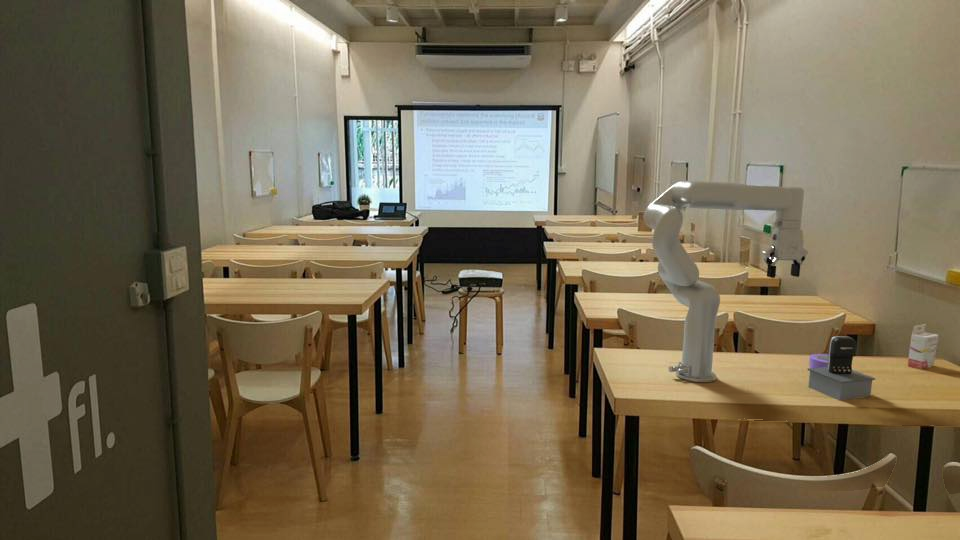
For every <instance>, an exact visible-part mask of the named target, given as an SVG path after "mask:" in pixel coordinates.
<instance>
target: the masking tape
mask: <svg viewBox="0 0 960 540" xmlns="http://www.w3.org/2000/svg"><path fill="white" fill-rule="evenodd" d="M828 360H829V353H828V354H827V353H814V354H810V355H809V361H808V367H809V368H818V367H828Z"/></svg>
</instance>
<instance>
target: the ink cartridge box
mask: <svg viewBox="0 0 960 540" xmlns="http://www.w3.org/2000/svg"><path fill="white" fill-rule="evenodd" d="M926 328H927V324H926V323H922V324H918V325H914V326H913V329H912V334H911V337H910V338H911V339H910V345H909V351H908V353H909V354H908V361H907V366H908V367H911V368H914V367H915V369H918V368H919V369H918V370H924V368H925V369H928V367H929V368H932V367H931V366H933V367H934V366H935V360H936V352H937V346H938V341H939V334H938V333H937V334H936V333H933V332H927V331H926Z"/></svg>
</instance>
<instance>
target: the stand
mask: <svg viewBox="0 0 960 540" xmlns="http://www.w3.org/2000/svg"><path fill="white" fill-rule="evenodd" d="M827 369H828V367H818V368H810V367H809V368H807V371H809V377H808V388H810V389H813V390H814V391H817V392H819V393H820V394H824V395H826V396H829V397H831V398H833V399H836V400H837V401H844V400H852V399H851V398H854V399H861V398H860V397H863V398H869V397H868V396H870V397H871V394H872V386H873V385H872V384H873V381H876V377H873V376H870V375H869V374H865V373H862V372H861V371H860V372H859V371H857V370H854V369H852V373H851V374H837V373H832V372H829V371H828V370H827Z"/></svg>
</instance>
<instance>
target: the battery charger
mask: <svg viewBox="0 0 960 540" xmlns="http://www.w3.org/2000/svg"><path fill="white" fill-rule="evenodd" d="M828 354H829V360H828V369H827V370H828V371H829V372H832V373H837V374H851V373H852V370H853V367H852V365H853V358H854V356H856V354H857V341H856V340H855V339H854V338H853V337H850V336H842V335H841V336H840V335H839V336H838V335H837V336H833V337H831V339H830V340H829V349H828Z"/></svg>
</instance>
